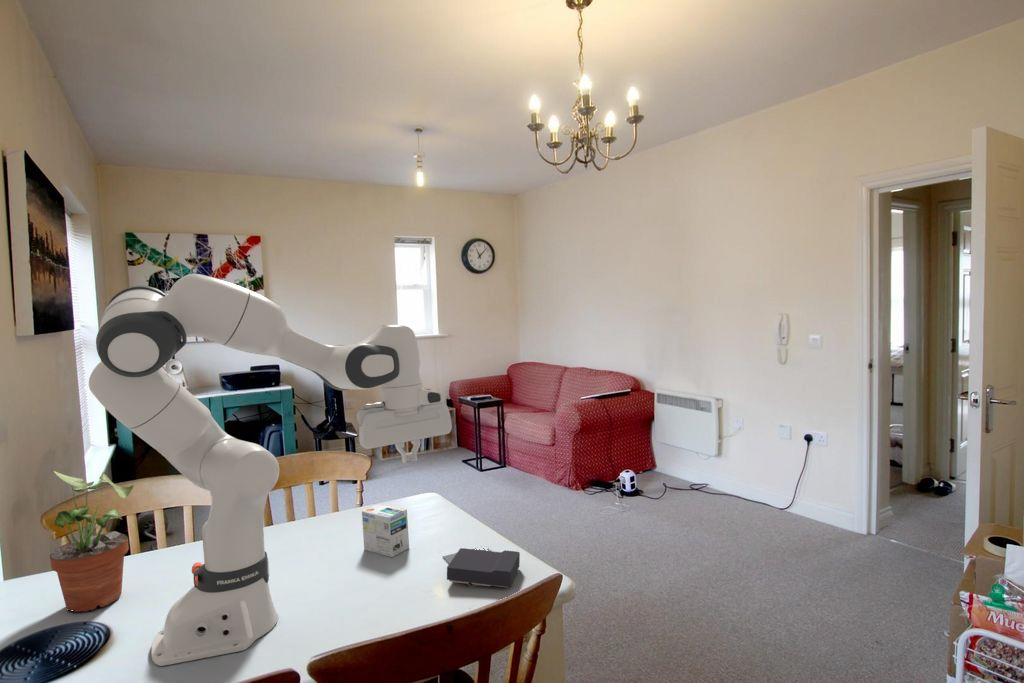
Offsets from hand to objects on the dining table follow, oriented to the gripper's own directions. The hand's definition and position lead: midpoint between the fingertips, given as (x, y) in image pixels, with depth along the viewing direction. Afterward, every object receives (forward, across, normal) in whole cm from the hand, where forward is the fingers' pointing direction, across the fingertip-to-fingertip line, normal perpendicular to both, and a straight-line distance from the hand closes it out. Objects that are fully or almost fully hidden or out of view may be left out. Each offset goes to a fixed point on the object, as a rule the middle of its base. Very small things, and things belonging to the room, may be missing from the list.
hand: (409, 461), depth 124 cm
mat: (+30, +17, +8) cm, 36 cm away
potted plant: (+26, -62, +41) cm, 79 cm away
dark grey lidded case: (+27, +10, +6) cm, 30 cm away
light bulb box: (+28, +1, +30) cm, 42 cm away
